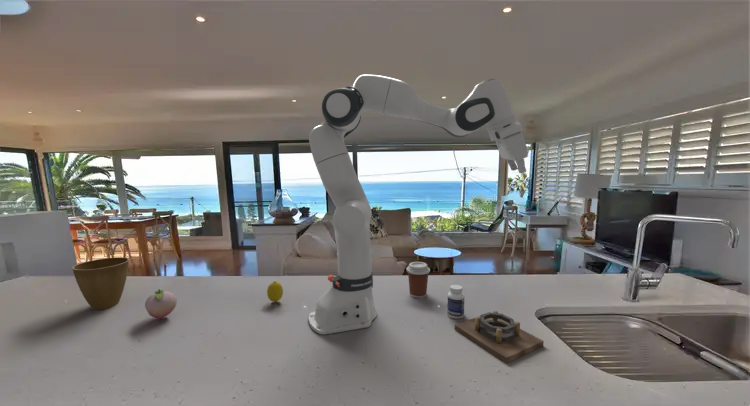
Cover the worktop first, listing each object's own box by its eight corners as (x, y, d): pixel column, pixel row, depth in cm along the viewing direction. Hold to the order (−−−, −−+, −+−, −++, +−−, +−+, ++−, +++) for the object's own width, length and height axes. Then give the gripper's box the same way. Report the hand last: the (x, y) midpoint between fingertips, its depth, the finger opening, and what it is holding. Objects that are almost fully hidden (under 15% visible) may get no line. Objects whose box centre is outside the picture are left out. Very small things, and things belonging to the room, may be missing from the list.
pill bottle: (464, 319, 94) (465, 290, 92) (447, 318, 95) (448, 289, 94) (463, 312, 99) (463, 284, 98) (446, 310, 100) (447, 283, 99)
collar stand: (506, 363, 72) (506, 344, 72) (454, 329, 88) (454, 313, 87) (543, 346, 79) (544, 328, 79) (489, 317, 95) (489, 302, 94)
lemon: (264, 304, 106) (263, 283, 105) (274, 298, 111) (273, 277, 110) (276, 306, 104) (275, 285, 103) (286, 300, 109) (285, 279, 108)
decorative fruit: (181, 318, 96) (178, 289, 95) (150, 328, 91) (147, 297, 89) (173, 309, 103) (171, 282, 102) (144, 318, 97) (141, 289, 96)
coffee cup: (433, 292, 115) (433, 263, 114) (424, 301, 107) (424, 269, 106) (412, 288, 120) (412, 259, 118) (402, 296, 112) (402, 265, 111)
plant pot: (75, 319, 96) (69, 272, 95) (79, 304, 107) (74, 262, 106) (133, 305, 106) (129, 263, 104) (132, 293, 117) (128, 254, 115)
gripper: (487, 135, 102) (501, 172, 103) (500, 133, 82) (517, 178, 84) (506, 128, 100) (519, 165, 102) (523, 124, 81) (540, 170, 82)
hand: (518, 171), depth 93 cm, fingers open, 8 cm apart
